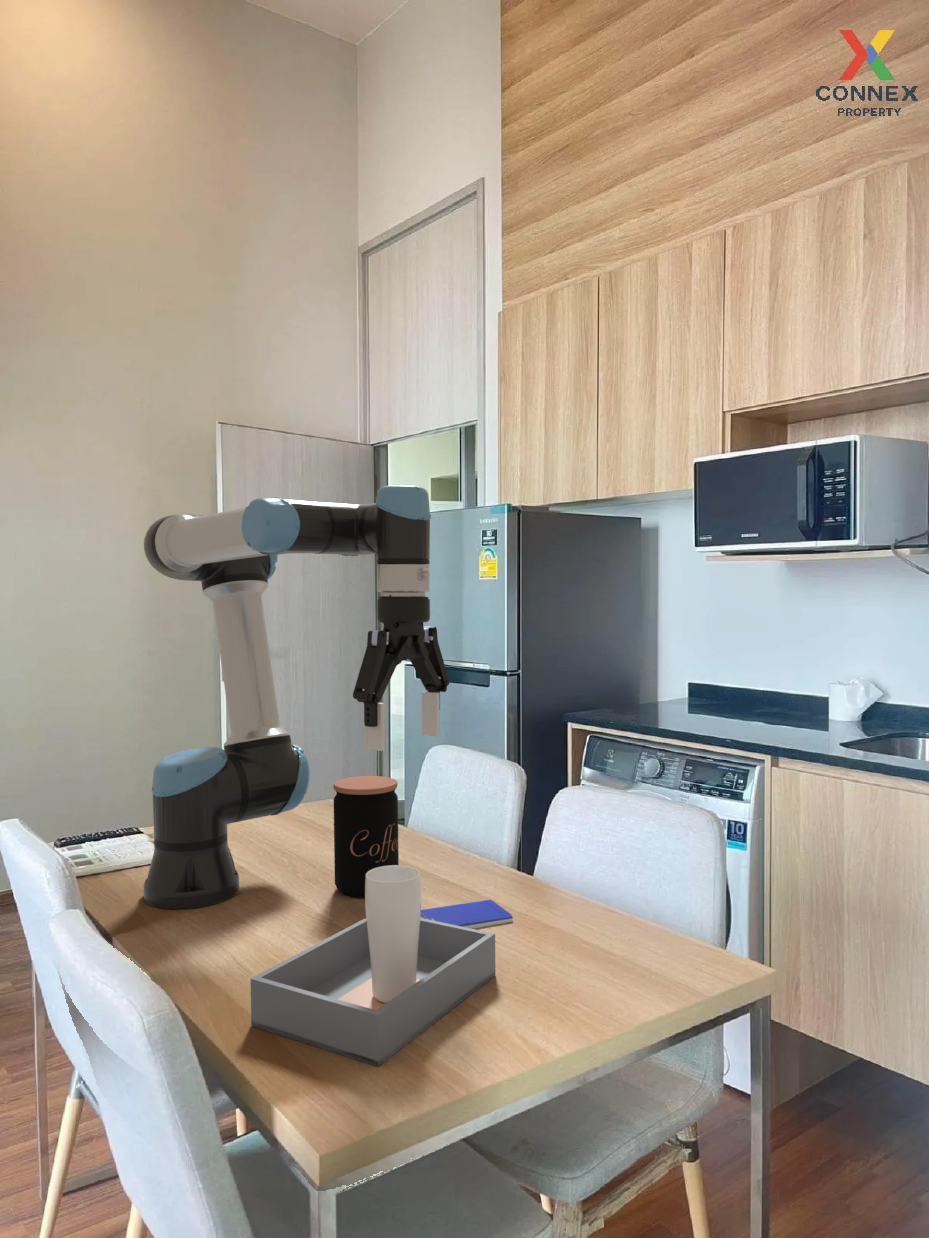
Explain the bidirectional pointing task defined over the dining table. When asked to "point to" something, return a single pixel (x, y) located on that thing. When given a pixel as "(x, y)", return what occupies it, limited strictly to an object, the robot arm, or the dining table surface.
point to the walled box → (369, 991)
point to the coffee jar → (364, 830)
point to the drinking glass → (393, 928)
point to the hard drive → (469, 914)
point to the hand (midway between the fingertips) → (404, 742)
